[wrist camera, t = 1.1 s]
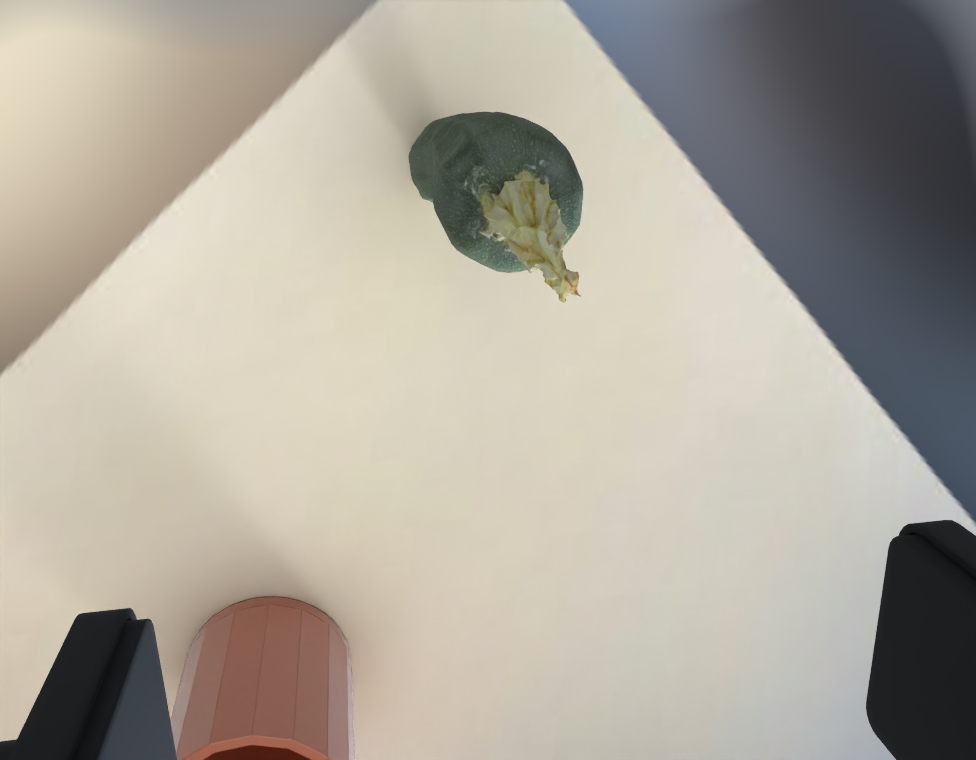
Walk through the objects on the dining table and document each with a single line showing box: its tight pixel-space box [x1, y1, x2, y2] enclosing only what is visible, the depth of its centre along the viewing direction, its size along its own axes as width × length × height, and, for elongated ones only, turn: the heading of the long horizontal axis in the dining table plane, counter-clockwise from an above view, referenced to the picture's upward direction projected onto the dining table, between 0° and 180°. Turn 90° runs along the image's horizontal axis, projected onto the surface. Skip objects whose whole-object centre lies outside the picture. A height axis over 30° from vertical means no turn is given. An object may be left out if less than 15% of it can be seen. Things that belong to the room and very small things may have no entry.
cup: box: [170, 597, 354, 760], centre depth 41 cm, size 8×8×10 cm
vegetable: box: [409, 112, 583, 303], centre depth 29 cm, size 4×4×20 cm
